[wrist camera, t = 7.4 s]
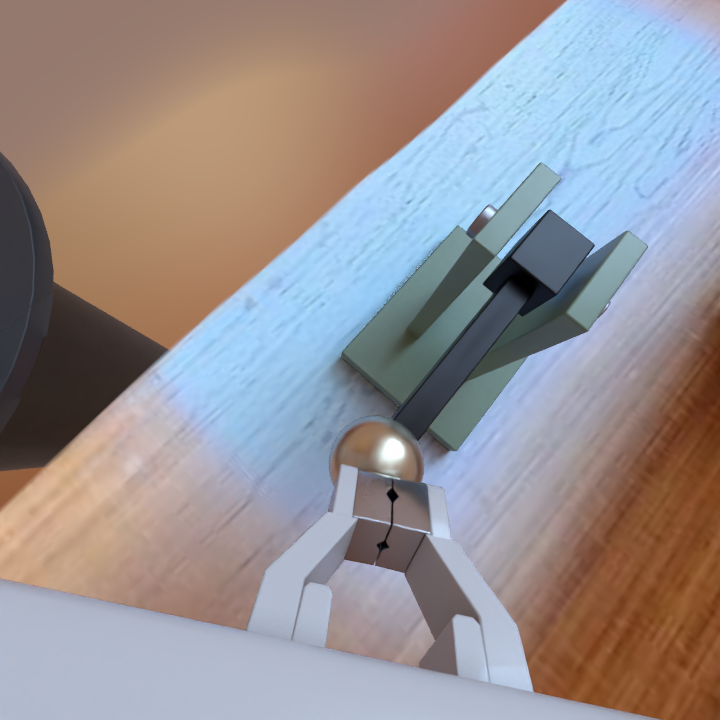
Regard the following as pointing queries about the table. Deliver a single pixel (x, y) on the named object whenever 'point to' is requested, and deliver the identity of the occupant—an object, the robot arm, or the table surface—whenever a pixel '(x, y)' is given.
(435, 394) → the lever
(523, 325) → the switch bracket
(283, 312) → the table surface
